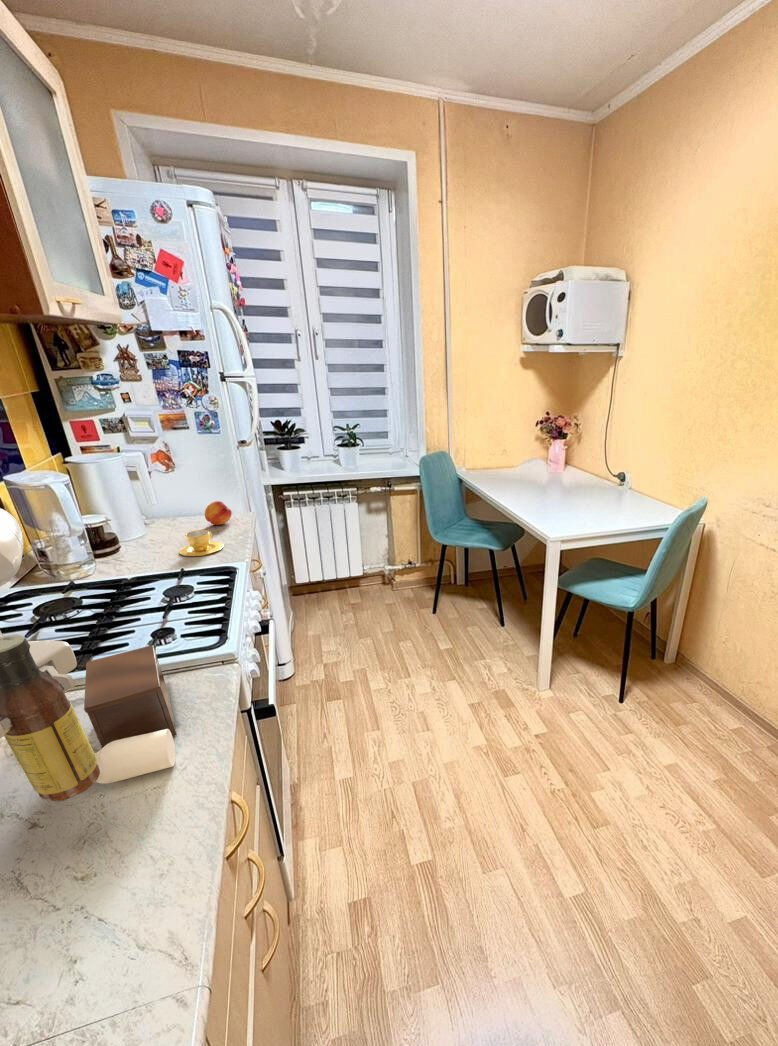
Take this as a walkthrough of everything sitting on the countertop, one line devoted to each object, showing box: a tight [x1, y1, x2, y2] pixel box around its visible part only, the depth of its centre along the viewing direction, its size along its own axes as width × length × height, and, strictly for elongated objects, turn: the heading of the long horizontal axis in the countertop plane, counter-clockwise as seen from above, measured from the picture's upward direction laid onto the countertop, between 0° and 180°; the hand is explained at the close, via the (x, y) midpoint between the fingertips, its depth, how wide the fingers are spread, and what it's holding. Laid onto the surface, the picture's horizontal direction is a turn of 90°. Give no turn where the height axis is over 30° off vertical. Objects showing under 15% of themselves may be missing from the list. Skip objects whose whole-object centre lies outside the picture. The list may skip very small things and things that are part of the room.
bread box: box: [86, 651, 177, 749], centre depth 83 cm, size 13×9×9 cm
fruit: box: [204, 500, 233, 526], centre depth 177 cm, size 8×8×8 cm
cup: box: [179, 529, 224, 557], centre depth 155 cm, size 12×12×5 cm
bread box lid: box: [83, 644, 161, 714], centre depth 80 cm, size 14×9×1 cm, turn 34°
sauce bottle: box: [0, 634, 100, 802], centre depth 57 cm, size 7×6×20 cm
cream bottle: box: [94, 729, 176, 784], centre depth 74 cm, size 6×12×6 cm, turn 114°
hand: (38, 705), depth 56 cm, fingers closed on sauce bottle, 6 cm apart
